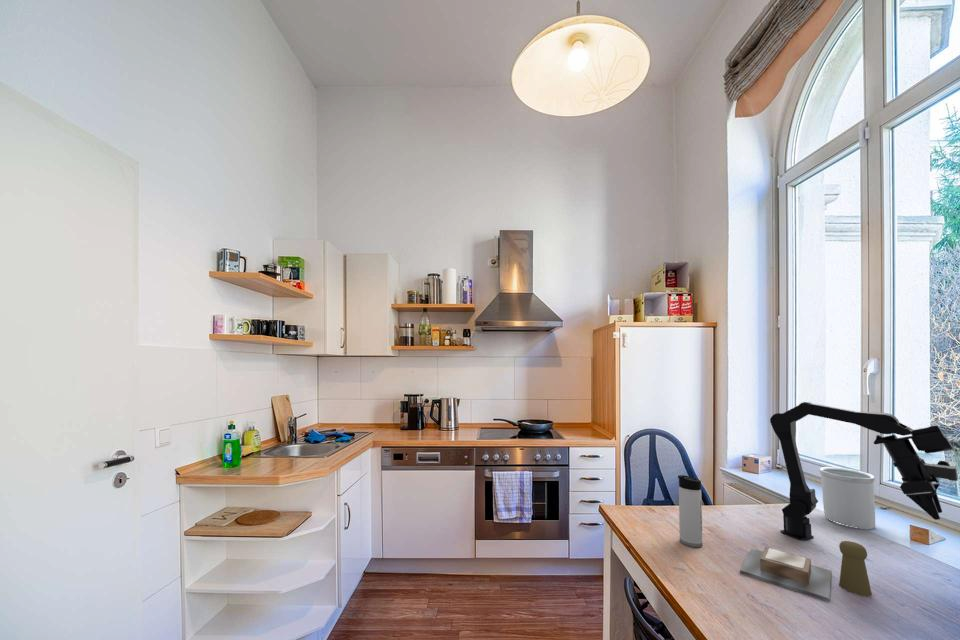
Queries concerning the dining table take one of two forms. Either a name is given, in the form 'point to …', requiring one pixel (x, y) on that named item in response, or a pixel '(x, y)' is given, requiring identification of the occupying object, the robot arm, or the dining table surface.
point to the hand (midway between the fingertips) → (938, 515)
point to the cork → (854, 569)
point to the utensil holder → (848, 497)
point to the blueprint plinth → (811, 590)
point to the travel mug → (690, 511)
